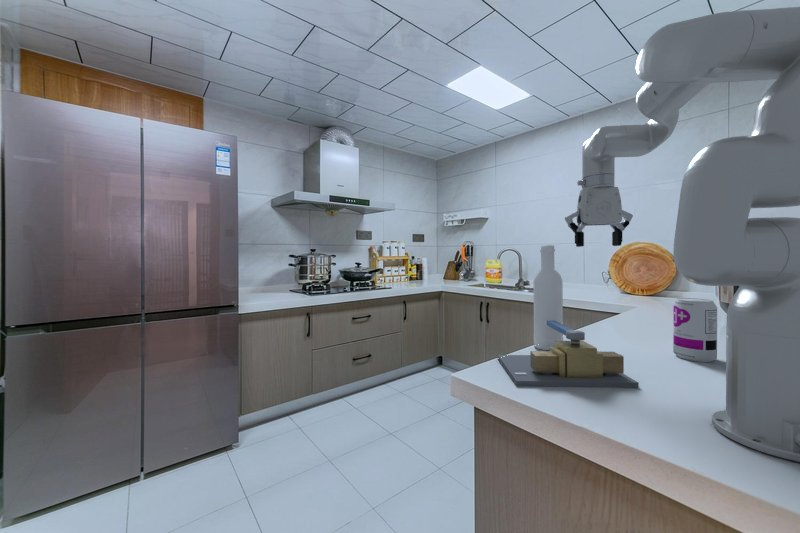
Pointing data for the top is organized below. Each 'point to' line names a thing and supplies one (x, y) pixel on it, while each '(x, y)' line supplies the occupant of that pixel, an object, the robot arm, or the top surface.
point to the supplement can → (695, 329)
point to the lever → (566, 331)
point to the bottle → (547, 301)
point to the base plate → (556, 376)
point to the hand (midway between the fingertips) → (598, 246)
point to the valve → (576, 361)
